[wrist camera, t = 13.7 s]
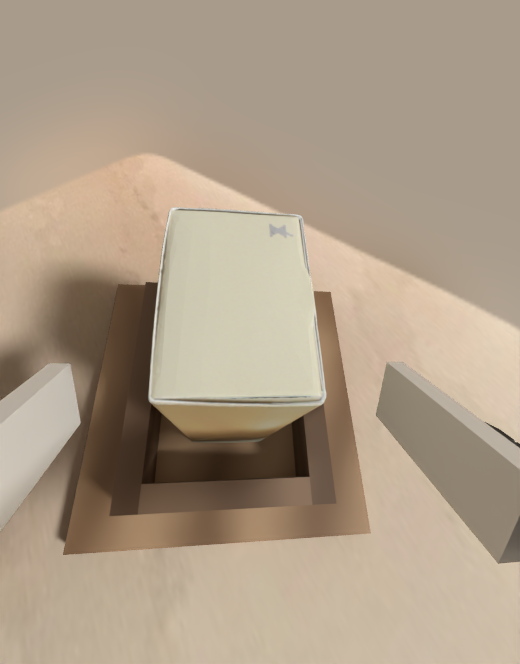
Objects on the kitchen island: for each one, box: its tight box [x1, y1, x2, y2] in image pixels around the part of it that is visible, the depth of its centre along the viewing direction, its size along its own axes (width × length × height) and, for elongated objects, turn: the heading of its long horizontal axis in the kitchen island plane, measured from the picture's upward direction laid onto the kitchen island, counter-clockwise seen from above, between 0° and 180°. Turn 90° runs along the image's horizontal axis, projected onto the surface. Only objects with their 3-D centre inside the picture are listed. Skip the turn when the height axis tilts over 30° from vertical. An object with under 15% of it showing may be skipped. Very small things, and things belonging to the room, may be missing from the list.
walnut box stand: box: [63, 282, 371, 555], centre depth 18 cm, size 16×16×4 cm
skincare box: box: [148, 207, 326, 443], centre depth 13 cm, size 6×4×12 cm
